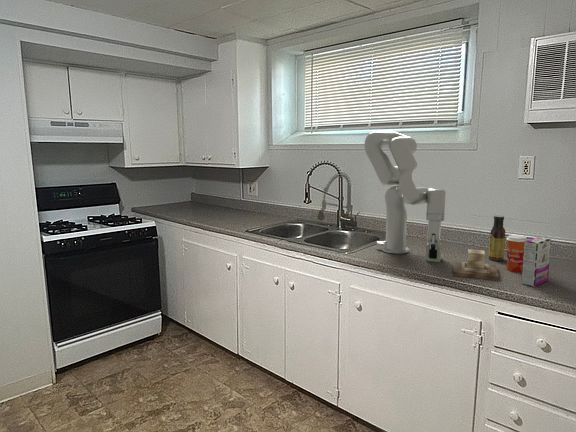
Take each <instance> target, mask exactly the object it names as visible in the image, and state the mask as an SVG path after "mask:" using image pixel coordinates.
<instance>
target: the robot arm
mask: <svg viewBox="0 0 576 432" xmlns="http://www.w3.org/2000/svg"><path fill="white" fill-rule="evenodd" d="M363 145H364V151H365V155H366V157H367V158H368V159H369V161H370V163H371V165H372V167H373V170H374V172H375V173H376V176H377V178H378V181H379V182H380V184H382V186H384V187H389V188H388V189H387V190H386V192H385V193H384V201H385V208H386V210H385V211H386V213H385V214H386V217H385V218H386V220H385V221H386V225H385V240H384V241H379V240H378V241H376V245H377V246H379V247H382V252H384V253H388V254H396V255H401V254H402V255H403V254H407V253H409V251H410V248H409V247H406V246H407V223H408V221H407V218H408V215H407V214H408V213H407V210H406V207H405V206H407V205H412V206H415V205H416V206H417V205H423V204H426V213H425V214H426V215H425V216H426V218H425V220H426V221H428V222H427V223H428V224H427V234H426V235H427V236H426V238H427V239H426V244H427V243H430V249H429V258H433V259H436V258H437V243H439V242H440V238H441V230H442V229H441V228H442V222H444V221H445V209H446V190H445V189H443V188H432V187H428V186H419V187H416V185H415V183H414V181H413V177H412V174H413V171H414V170H415V169H416V168H417V167H418V162H417V160H416V159H415V156H414V155H413V154H414V153H416V150H417V149H418V148H417V146H418V144H417V142H416V140H415V139H414V138H413V137H412V136H408V135H405V134H403V133H399V132H396V131H393V130H375V131H372V132H369V133H368V134H367V135H366V137H365V140H364V144H363ZM383 149H389V150H390V153H391V155H392V159H393V161H395V164H396V165H393V163H392V161H391V160H390V157H389V156H388V154H387V153H386V152H384V150H383Z"/></svg>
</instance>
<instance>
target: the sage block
mask: <svg viewBox="0 0 576 432" xmlns="http://www.w3.org/2000/svg"><path fill="white" fill-rule="evenodd" d="M429 249H430V242H429V243H427V242H426V246H425V261H426V262H437V263H441V257H442V256H441V255H442V243H437V258H436V259H433V258H429Z"/></svg>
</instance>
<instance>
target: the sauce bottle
mask: <svg viewBox="0 0 576 432" xmlns="http://www.w3.org/2000/svg"><path fill="white" fill-rule="evenodd" d="M504 220H505V216H504V215H501V214H497V215H496V214H495V215H493V225H492V228H491V230H490V232H489V242H488V243H489V245H488V259H489V260H492V261H497V262H501V261H504V258H505V249H506V235H507V232H506V229H505V228H504Z"/></svg>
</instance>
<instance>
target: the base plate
mask: <svg viewBox="0 0 576 432" xmlns="http://www.w3.org/2000/svg"><path fill="white" fill-rule="evenodd" d="M453 264H454V265H453V273H452V275H453V276H454V277H463V278H470V279H471V278H472V279H473V278H474V279H480V280H481V279H482V280H490V281H491V280H493V281H500V280H499V278H500V276H499V271H498V268H497V267H498V266H497V265H496V264H488V263H484V270H482V269H471V268H467V262H466V261H454V263H453Z"/></svg>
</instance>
